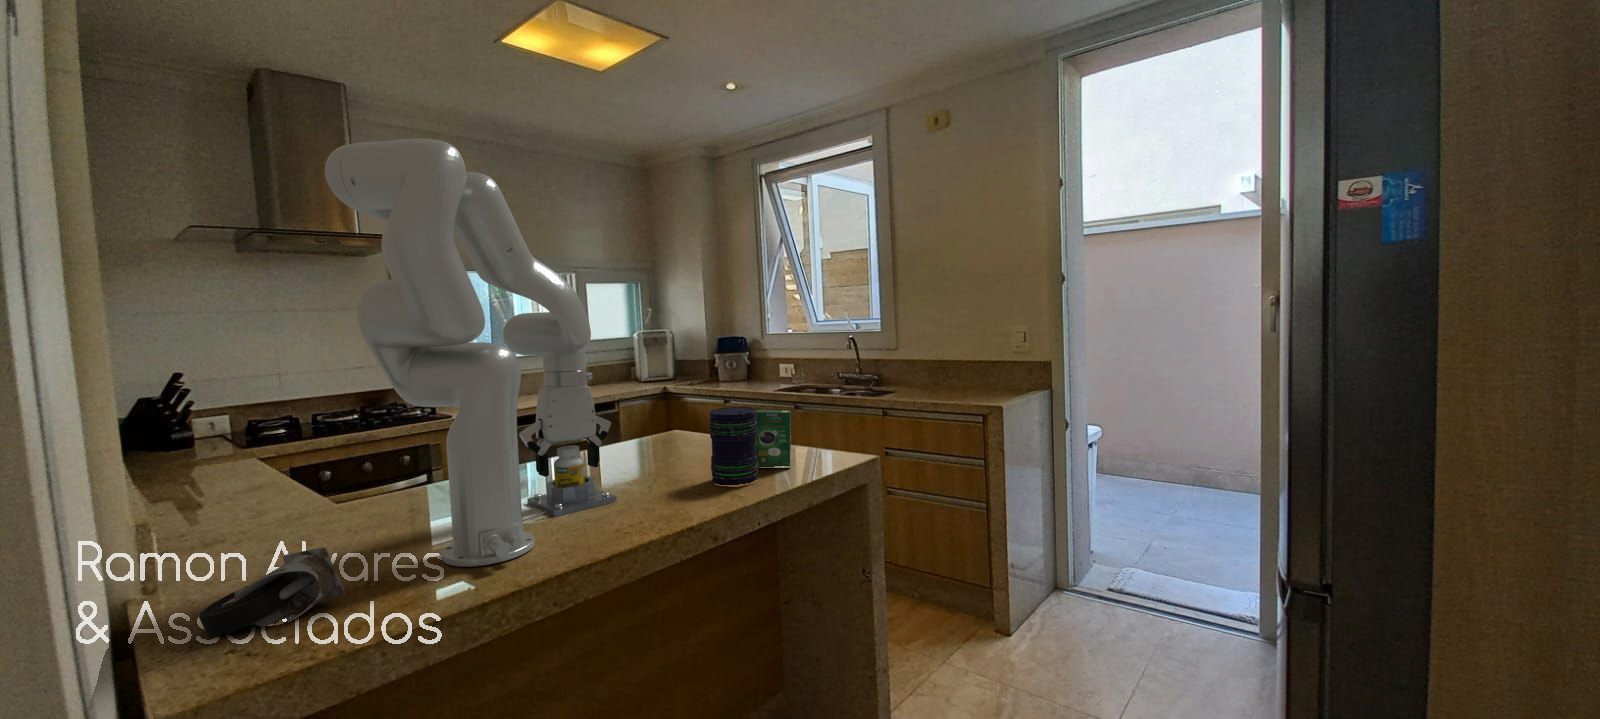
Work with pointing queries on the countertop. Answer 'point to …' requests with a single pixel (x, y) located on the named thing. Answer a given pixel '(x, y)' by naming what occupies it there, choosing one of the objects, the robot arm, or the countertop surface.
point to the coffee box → (773, 438)
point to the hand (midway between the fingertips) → (569, 470)
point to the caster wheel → (276, 594)
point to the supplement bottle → (569, 467)
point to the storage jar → (733, 445)
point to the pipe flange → (570, 498)
